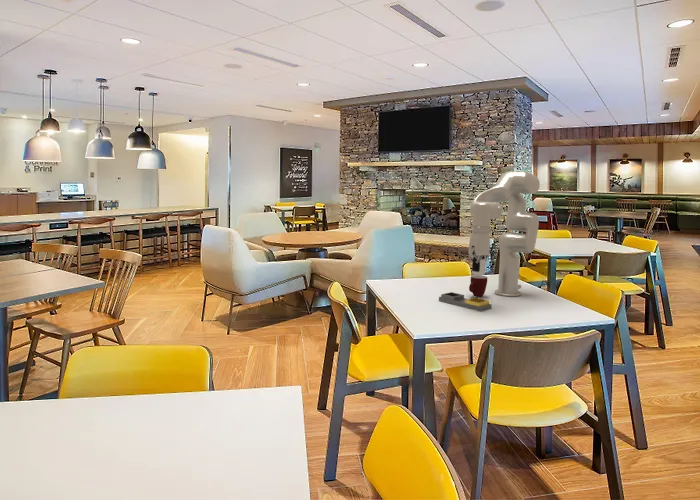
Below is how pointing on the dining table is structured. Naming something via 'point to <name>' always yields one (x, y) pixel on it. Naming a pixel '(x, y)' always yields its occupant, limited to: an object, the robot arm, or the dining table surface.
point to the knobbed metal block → (480, 267)
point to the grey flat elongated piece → (465, 301)
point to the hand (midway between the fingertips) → (478, 270)
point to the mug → (478, 285)
